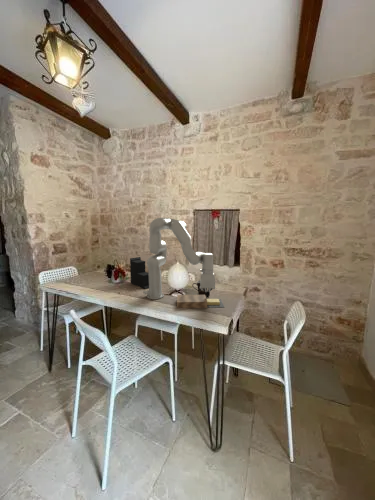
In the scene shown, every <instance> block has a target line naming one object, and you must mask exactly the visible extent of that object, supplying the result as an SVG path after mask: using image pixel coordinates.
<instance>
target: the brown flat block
mask: <svg viewBox="0 0 375 500" xmlns="http://www.w3.org/2000/svg"><path fill="white" fill-rule="evenodd" d="M207 299H208V298H206V296H205V295H199V294H177V298H176V308H177V309H195V308H196V309H197V308H198V309H204V308H205V309H207V308H208V306H207Z"/></svg>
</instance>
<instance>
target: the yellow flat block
mask: <svg viewBox="0 0 375 500" xmlns="http://www.w3.org/2000/svg"><path fill="white" fill-rule="evenodd" d="M206 299H207V305H220V301H219V299H220V298H206Z"/></svg>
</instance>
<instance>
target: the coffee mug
mask: <svg viewBox="0 0 375 500" xmlns="http://www.w3.org/2000/svg"><path fill="white" fill-rule="evenodd" d="M191 285H192V288H193V289H194V290H195V291H197V292H198V294H197V295H205V291H204V290H203V289H200V280H197V281H196V282H193V284H191ZM194 285H196V286H197V288H196V287H194ZM206 289H207V290H208V288H206Z"/></svg>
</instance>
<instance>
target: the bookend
mask: <svg viewBox="0 0 375 500" xmlns="http://www.w3.org/2000/svg"><path fill="white" fill-rule="evenodd" d="M141 258H142V257H141V256H137V257H130V258H129V262H130V263H129V267H130V268H129V269H130V270H129V271H130V272H129V273H130V284H132V285H134V286H137V287H139V288H141V289H144V290H147V289H148V290H149V273H148V271H146V260H142V259H141Z"/></svg>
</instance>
